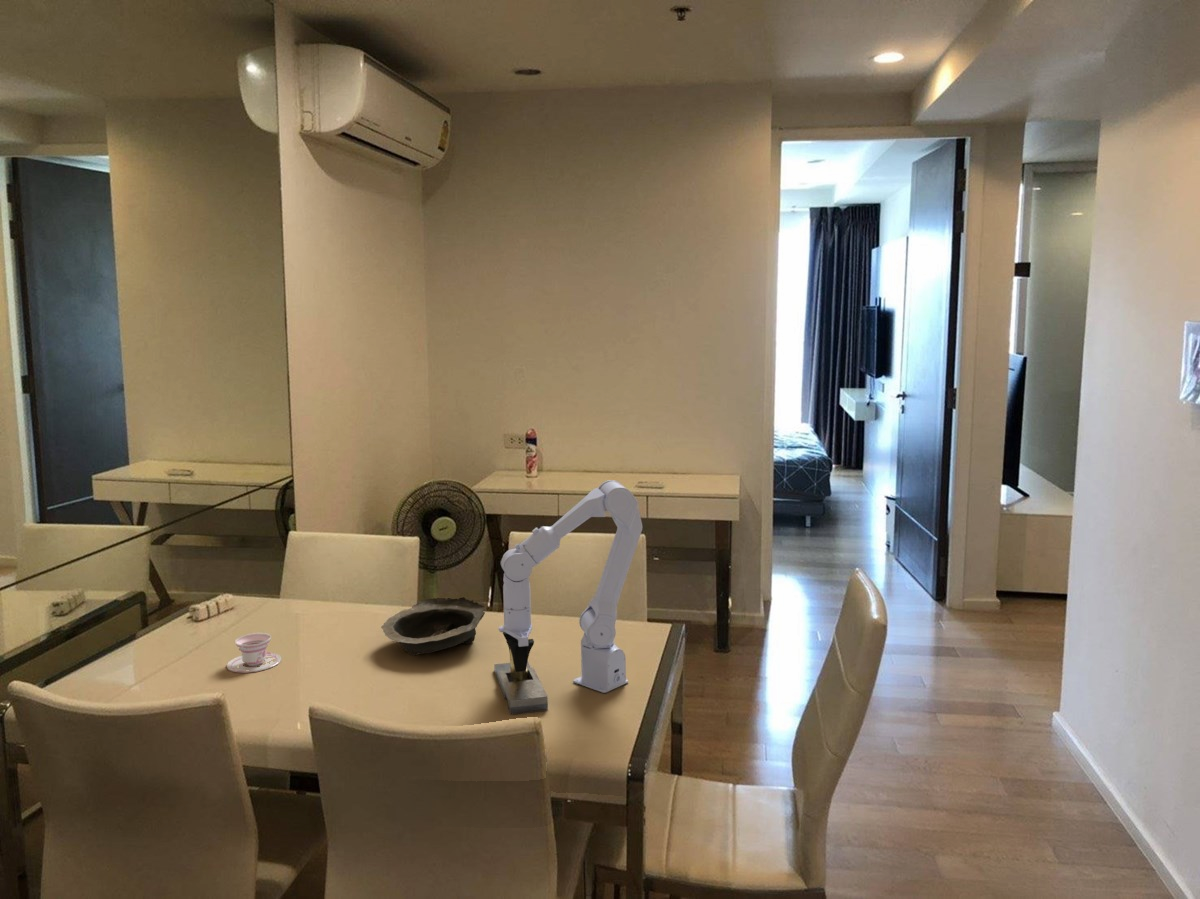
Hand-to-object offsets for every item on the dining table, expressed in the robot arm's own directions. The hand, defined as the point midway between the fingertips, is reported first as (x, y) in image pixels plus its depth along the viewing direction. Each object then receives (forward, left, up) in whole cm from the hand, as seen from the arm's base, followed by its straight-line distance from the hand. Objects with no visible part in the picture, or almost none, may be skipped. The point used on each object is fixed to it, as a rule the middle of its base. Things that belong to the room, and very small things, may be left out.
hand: (518, 667), depth 198 cm
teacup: (+58, +30, -5) cm, 66 cm away
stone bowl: (+35, -4, -5) cm, 36 cm away
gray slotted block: (0, 0, -5) cm, 5 cm away
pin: (0, 0, -2) cm, 2 cm away
